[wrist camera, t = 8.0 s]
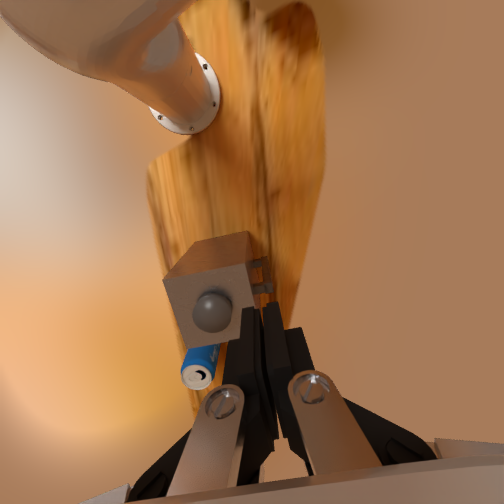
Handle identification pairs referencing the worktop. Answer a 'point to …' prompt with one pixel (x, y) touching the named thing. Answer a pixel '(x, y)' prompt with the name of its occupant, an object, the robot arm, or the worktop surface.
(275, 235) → the worktop surface
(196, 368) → the beverage can
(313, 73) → the worktop surface
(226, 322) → the plunger
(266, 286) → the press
